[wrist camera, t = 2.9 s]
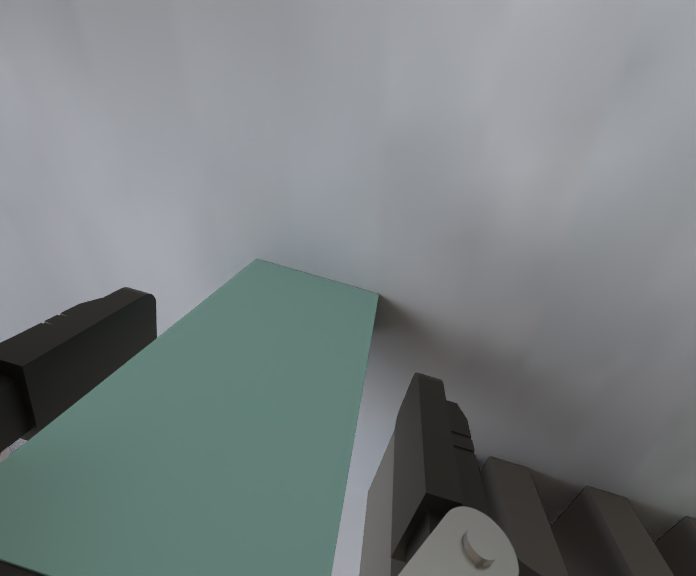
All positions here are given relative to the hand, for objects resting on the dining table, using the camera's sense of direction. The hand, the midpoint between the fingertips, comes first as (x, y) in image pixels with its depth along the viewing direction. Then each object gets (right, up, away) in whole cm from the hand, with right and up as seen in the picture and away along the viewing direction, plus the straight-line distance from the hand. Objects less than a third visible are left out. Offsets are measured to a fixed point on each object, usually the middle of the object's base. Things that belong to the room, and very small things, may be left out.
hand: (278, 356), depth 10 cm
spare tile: (+1, +2, +3) cm, 4 cm away
